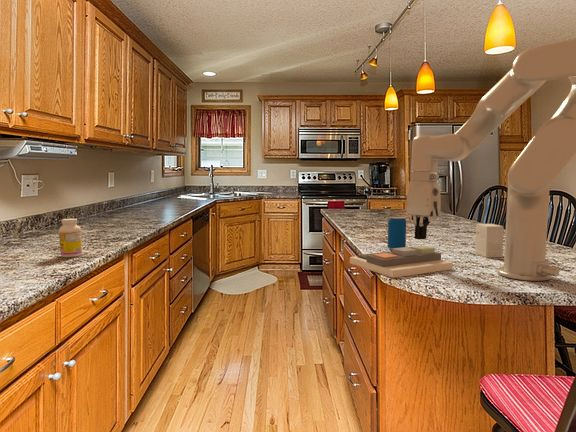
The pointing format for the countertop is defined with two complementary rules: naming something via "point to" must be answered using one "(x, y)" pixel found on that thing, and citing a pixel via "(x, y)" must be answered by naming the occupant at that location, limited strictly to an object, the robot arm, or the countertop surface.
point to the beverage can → (396, 232)
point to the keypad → (402, 264)
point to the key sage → (423, 249)
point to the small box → (489, 240)
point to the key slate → (404, 251)
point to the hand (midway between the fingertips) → (420, 238)
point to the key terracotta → (385, 255)
